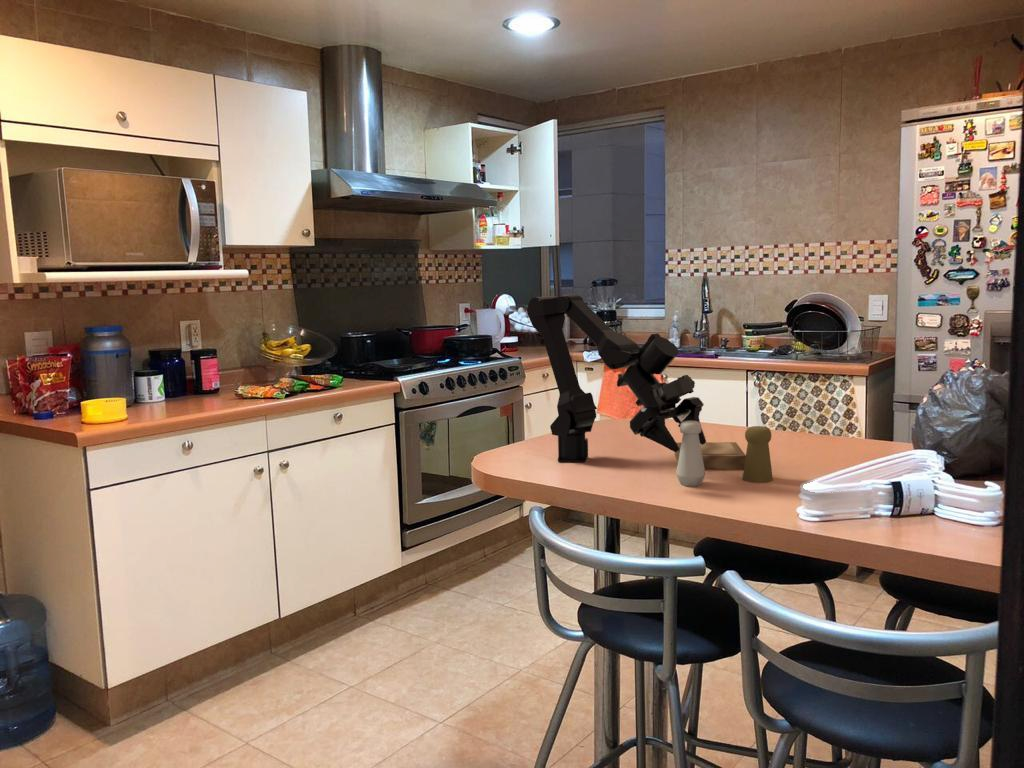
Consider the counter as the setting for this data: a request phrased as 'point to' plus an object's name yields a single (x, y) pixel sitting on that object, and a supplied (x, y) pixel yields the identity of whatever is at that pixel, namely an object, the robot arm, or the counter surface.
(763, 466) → the pepper shaker
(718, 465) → the base board
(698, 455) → the salt shaker
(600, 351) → the robot arm
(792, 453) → the counter surface
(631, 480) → the counter surface
